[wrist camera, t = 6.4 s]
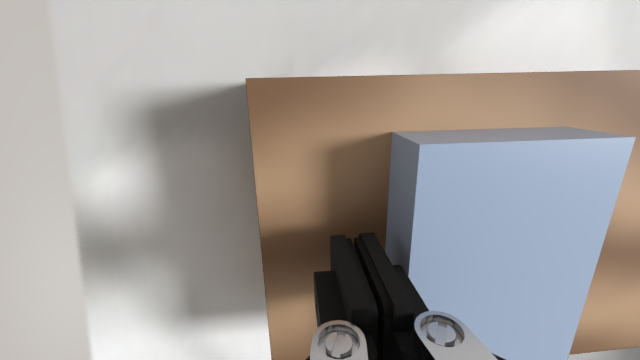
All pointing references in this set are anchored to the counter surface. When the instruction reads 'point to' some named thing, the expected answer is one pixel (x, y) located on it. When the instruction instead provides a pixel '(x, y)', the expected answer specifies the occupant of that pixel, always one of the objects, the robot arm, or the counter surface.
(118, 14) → the counter surface
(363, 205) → the brown wooden block
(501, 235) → the pale blue upright block
